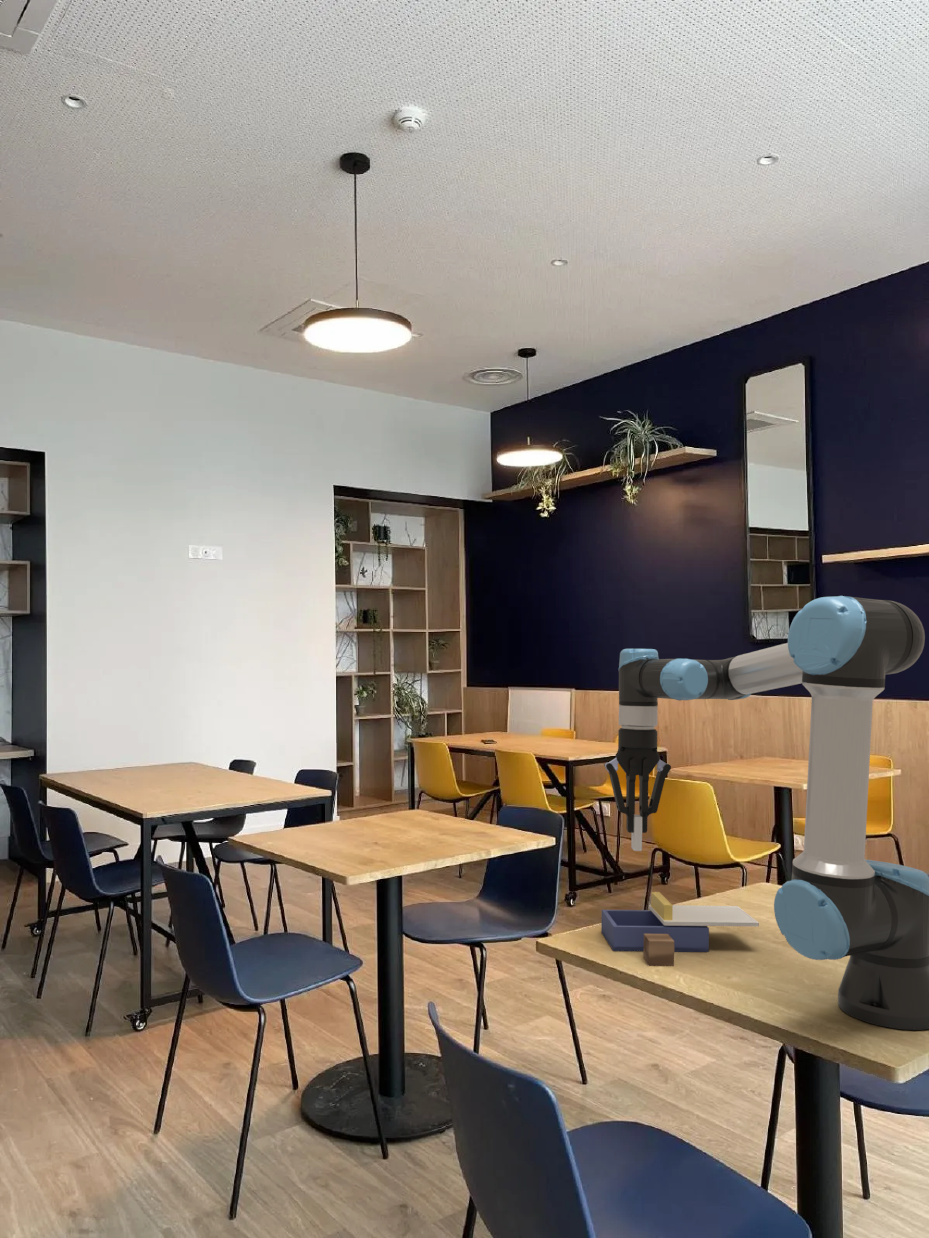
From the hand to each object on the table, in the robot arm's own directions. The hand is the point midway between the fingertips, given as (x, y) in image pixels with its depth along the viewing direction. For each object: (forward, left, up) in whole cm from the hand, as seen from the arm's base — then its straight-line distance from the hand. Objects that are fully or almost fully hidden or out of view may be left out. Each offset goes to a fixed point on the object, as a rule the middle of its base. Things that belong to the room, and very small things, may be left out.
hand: (636, 849), depth 182 cm
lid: (0, -13, -13) cm, 18 cm away
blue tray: (0, -4, -18) cm, 18 cm away
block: (-12, -2, -18) cm, 22 cm away
